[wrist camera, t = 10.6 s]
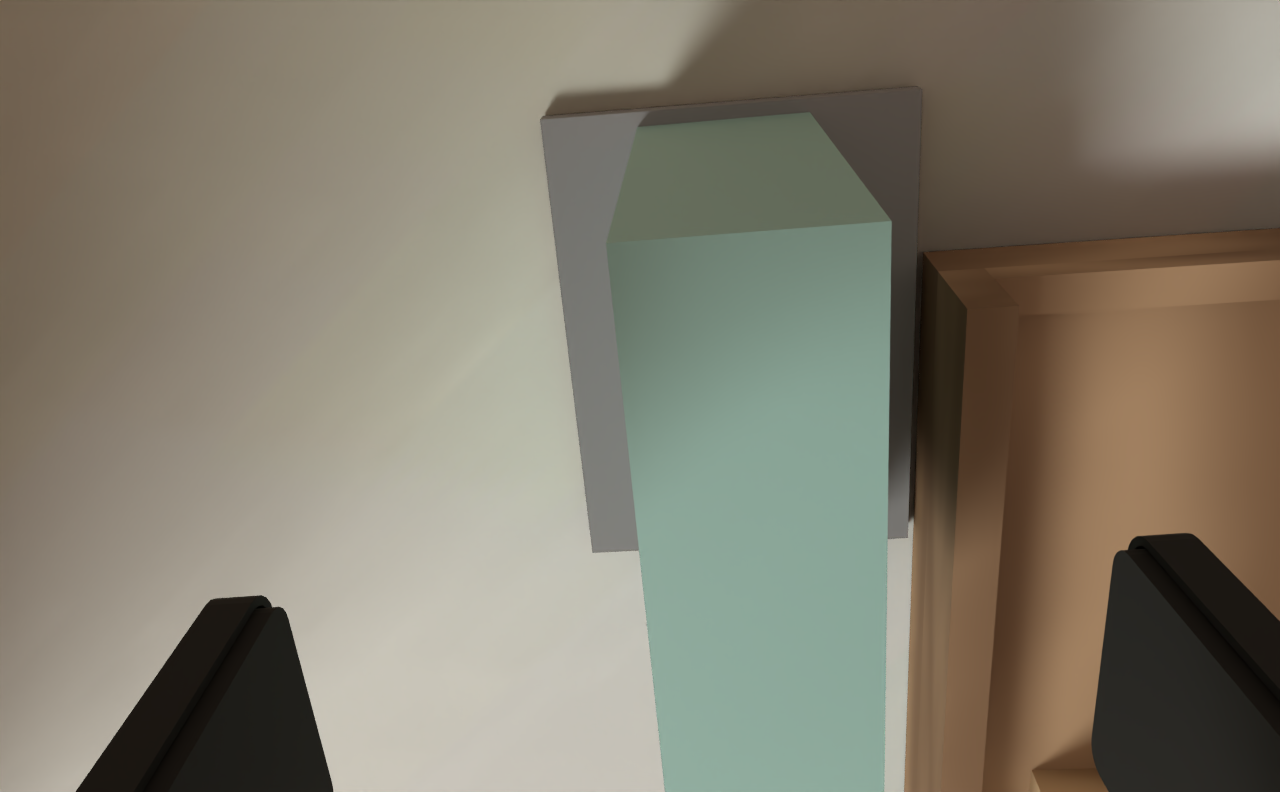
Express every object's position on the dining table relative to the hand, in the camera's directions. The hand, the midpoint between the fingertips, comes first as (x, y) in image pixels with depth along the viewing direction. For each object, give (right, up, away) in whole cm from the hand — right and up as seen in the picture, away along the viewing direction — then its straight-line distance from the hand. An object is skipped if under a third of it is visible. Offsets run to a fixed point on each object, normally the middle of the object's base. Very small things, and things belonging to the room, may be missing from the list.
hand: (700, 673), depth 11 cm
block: (+1, +4, +8) cm, 9 cm away
